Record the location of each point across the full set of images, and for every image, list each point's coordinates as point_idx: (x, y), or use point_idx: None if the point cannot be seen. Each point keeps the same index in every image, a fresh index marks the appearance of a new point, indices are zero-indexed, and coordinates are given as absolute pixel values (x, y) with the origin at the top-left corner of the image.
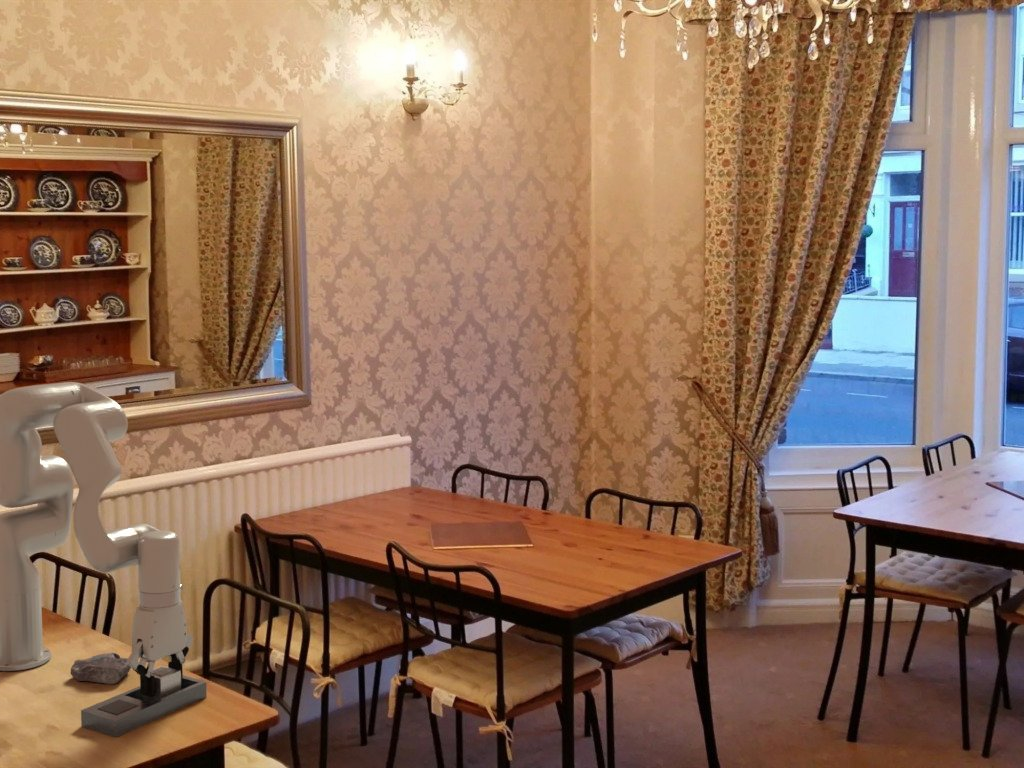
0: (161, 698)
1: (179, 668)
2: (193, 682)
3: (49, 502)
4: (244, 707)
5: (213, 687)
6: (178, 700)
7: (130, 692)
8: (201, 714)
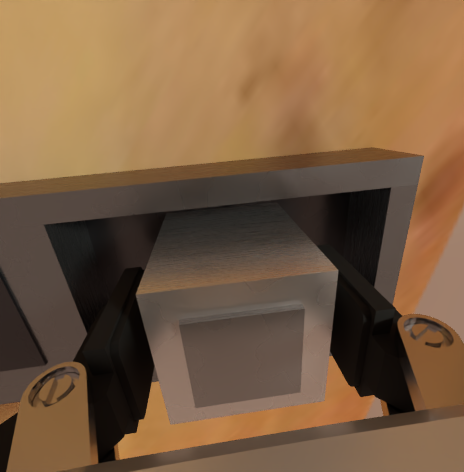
0: None
1: (345, 377)
2: None
3: None
4: (338, 411)
5: (427, 264)
6: None
7: (90, 219)
8: None
